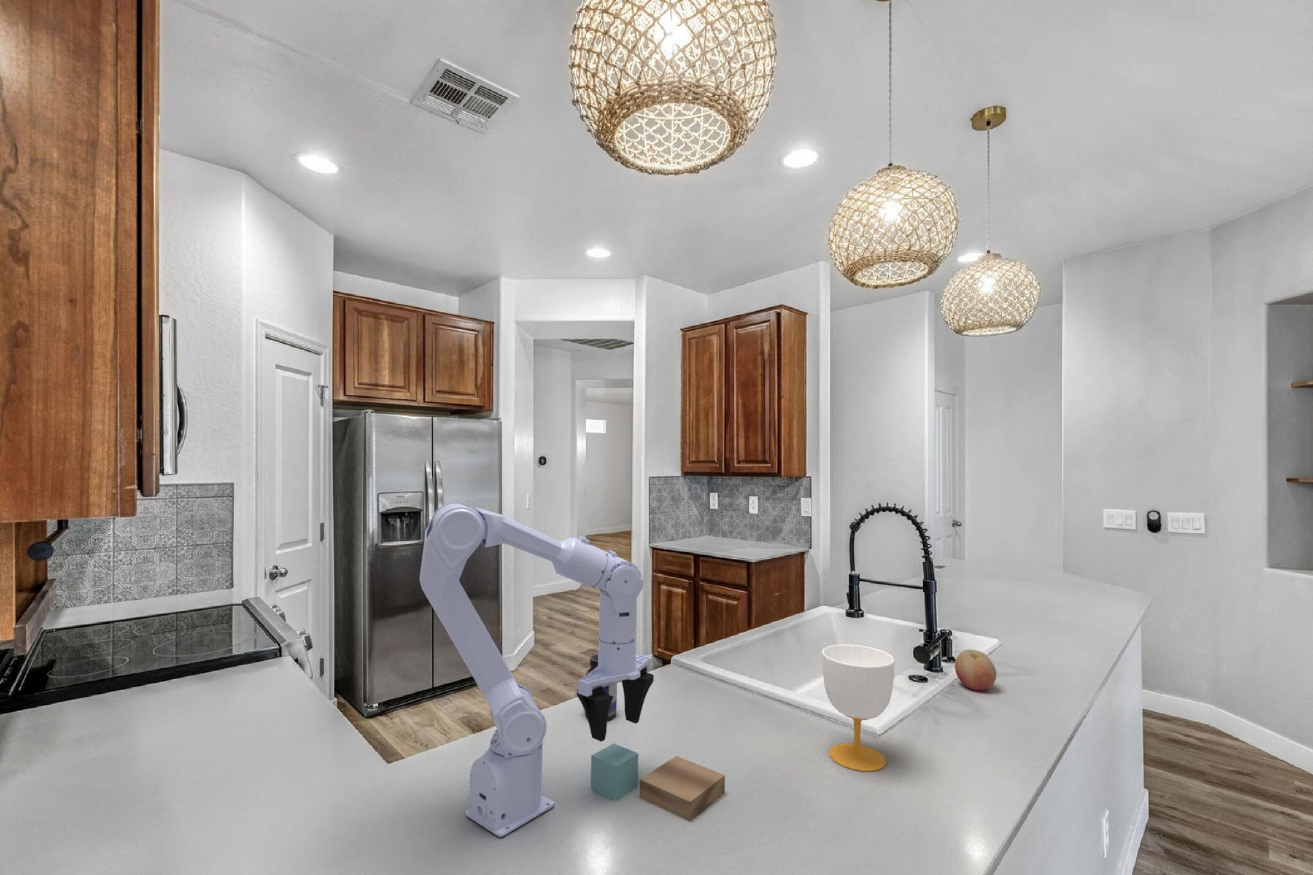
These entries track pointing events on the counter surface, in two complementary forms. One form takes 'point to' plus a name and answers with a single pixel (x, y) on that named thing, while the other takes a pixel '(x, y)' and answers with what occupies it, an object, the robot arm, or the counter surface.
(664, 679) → the counter surface
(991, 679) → the fruit
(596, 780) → the teal cube
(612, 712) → the pill bottle
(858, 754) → the cup
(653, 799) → the walnut block
